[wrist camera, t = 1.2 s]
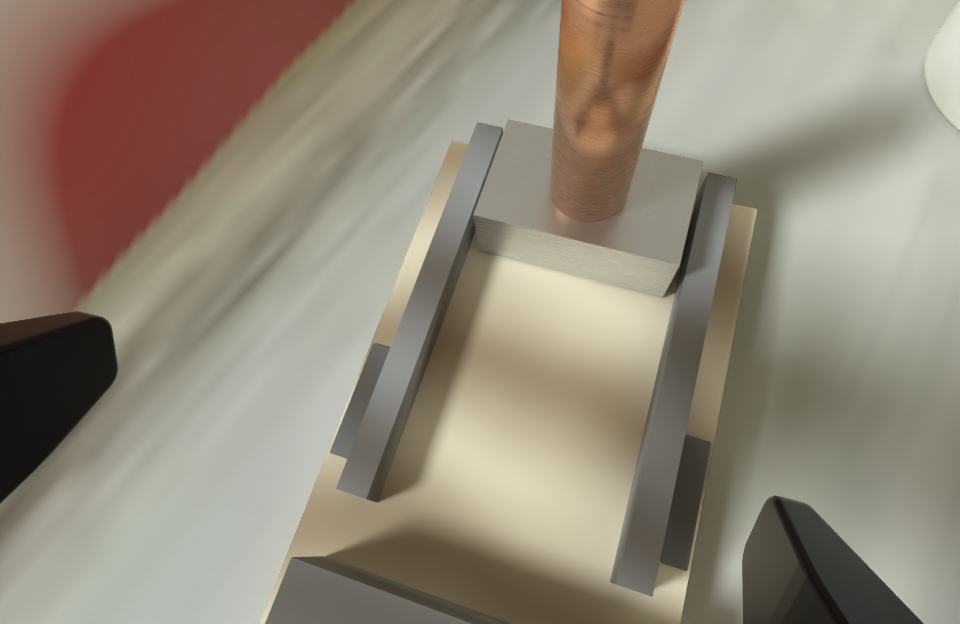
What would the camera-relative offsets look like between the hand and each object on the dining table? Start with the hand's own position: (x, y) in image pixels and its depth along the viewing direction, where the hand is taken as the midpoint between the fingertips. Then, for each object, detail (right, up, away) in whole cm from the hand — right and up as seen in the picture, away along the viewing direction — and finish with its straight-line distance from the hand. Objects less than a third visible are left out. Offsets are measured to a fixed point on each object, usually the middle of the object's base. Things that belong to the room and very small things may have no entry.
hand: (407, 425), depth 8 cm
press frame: (+3, -2, +14) cm, 14 cm away
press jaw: (+5, +5, +15) cm, 16 cm away
